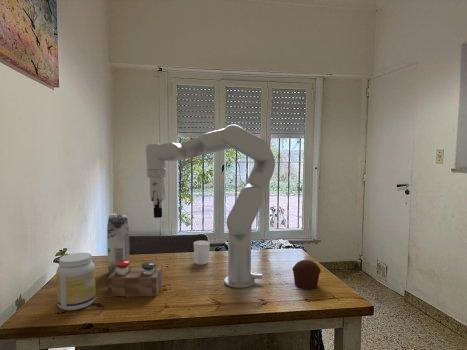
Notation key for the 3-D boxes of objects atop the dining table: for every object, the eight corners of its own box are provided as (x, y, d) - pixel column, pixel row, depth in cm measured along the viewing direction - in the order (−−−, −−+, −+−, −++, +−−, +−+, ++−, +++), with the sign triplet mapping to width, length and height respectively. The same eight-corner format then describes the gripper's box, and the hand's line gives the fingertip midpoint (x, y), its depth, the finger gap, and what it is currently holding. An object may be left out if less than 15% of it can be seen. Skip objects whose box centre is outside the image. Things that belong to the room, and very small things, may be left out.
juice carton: (129, 268, 151) (128, 211, 149) (129, 276, 141) (128, 215, 139) (109, 270, 148) (107, 212, 146) (107, 279, 138) (106, 216, 136)
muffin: (311, 293, 124) (311, 268, 123) (286, 285, 131) (287, 261, 131) (325, 284, 133) (326, 261, 132) (301, 277, 140) (302, 255, 140)
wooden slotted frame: (117, 284, 133) (117, 267, 132) (161, 283, 133) (161, 266, 133) (107, 296, 121) (107, 278, 120) (156, 296, 121) (156, 277, 121)
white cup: (209, 265, 156) (209, 244, 155) (192, 265, 156) (192, 244, 156) (210, 260, 164) (210, 240, 163) (194, 259, 164) (194, 240, 163)
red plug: (131, 284, 129) (131, 259, 129) (128, 289, 124) (127, 263, 124) (118, 284, 129) (118, 259, 129) (114, 289, 124) (113, 264, 123)
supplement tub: (102, 297, 120) (101, 253, 119) (80, 313, 108) (78, 263, 107) (74, 294, 123) (73, 250, 122) (49, 309, 111) (47, 260, 110)
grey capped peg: (156, 286, 130) (156, 261, 129) (154, 291, 125) (154, 265, 124) (143, 286, 130) (143, 261, 129) (140, 291, 124) (140, 266, 124)
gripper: (163, 174, 128) (164, 220, 129) (167, 172, 142) (169, 213, 143) (143, 174, 127) (145, 221, 128) (150, 173, 142) (152, 214, 143)
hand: (158, 217), depth 136 cm, fingers closed
